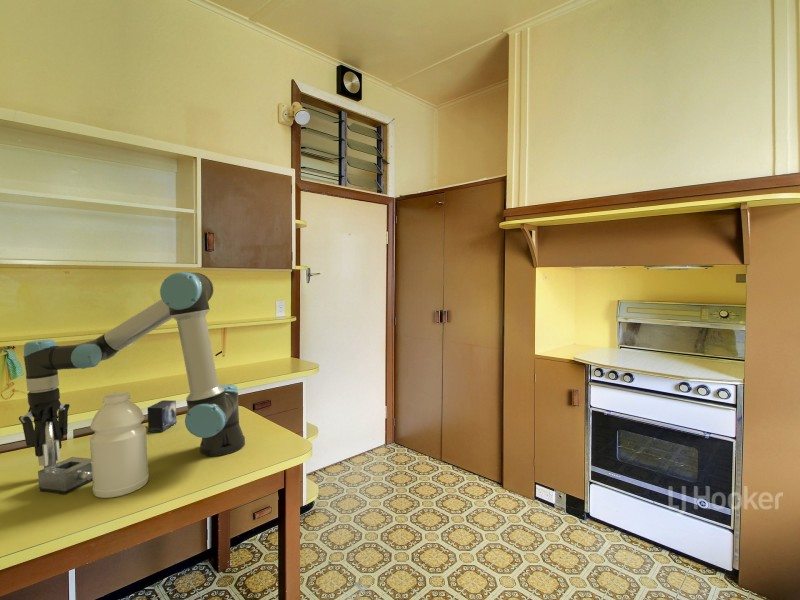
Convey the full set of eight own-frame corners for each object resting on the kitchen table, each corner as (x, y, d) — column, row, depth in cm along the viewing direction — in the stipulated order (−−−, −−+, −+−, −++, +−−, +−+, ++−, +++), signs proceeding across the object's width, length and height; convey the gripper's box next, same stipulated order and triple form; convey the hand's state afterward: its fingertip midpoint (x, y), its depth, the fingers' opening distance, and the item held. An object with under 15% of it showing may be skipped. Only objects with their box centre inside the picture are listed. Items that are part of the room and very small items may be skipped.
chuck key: (63, 468, 128) (59, 416, 127) (53, 473, 125) (49, 419, 124) (47, 467, 130) (42, 415, 129) (36, 471, 127) (32, 418, 126)
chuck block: (104, 478, 126) (103, 459, 126) (72, 495, 117) (70, 475, 116) (73, 475, 129) (72, 456, 129) (39, 491, 119) (37, 471, 119)
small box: (163, 432, 165) (161, 407, 164) (147, 432, 165) (146, 407, 164) (177, 423, 175) (176, 399, 175) (163, 423, 175) (161, 400, 175)
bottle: (86, 503, 112) (79, 404, 111) (100, 481, 125) (94, 392, 123) (145, 492, 118) (139, 397, 116) (152, 471, 130) (148, 386, 129)
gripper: (60, 382, 135) (66, 451, 136) (4, 396, 119) (11, 473, 121) (78, 383, 133) (84, 452, 134) (23, 397, 118) (30, 475, 119)
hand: (49, 462), depth 127 cm, fingers closed on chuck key, 3 cm apart
